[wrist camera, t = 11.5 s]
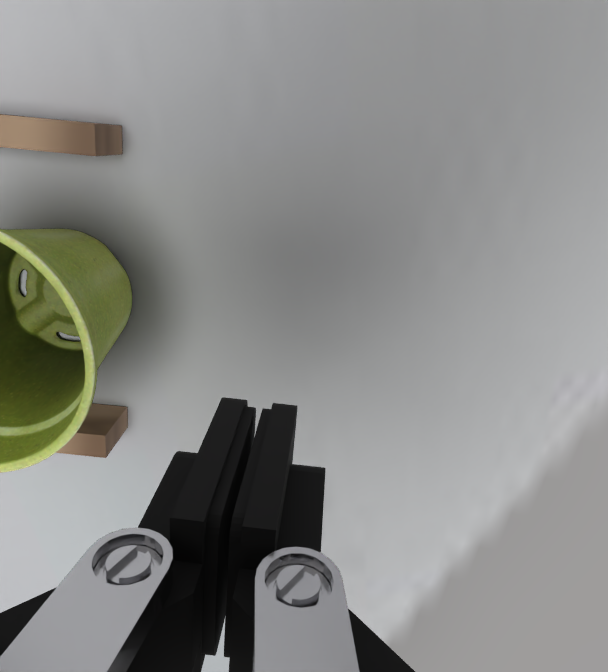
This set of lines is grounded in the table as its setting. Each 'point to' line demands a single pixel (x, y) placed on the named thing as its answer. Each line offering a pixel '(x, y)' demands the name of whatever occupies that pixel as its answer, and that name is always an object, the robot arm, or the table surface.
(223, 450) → the robot arm
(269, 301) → the table surface
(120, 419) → the dock
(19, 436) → the plant pot
